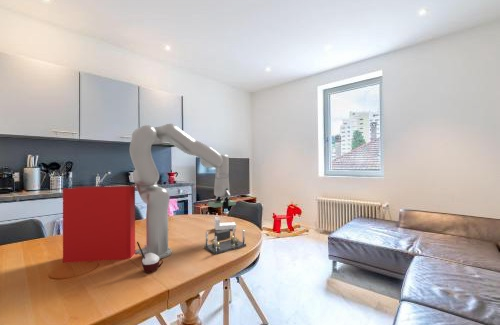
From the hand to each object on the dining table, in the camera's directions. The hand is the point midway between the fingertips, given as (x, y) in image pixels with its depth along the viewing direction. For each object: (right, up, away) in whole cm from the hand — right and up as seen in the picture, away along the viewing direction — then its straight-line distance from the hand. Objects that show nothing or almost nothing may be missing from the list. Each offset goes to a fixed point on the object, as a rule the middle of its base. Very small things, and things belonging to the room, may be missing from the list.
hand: (222, 207), depth 131 cm
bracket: (0, -18, +19) cm, 26 cm away
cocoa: (-24, -18, -39) cm, 49 cm away
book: (-52, -18, -25) cm, 61 cm away
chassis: (+3, -17, -14) cm, 22 cm away
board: (0, +1, 0) cm, 1 cm away
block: (0, -17, 0) cm, 17 cm away
